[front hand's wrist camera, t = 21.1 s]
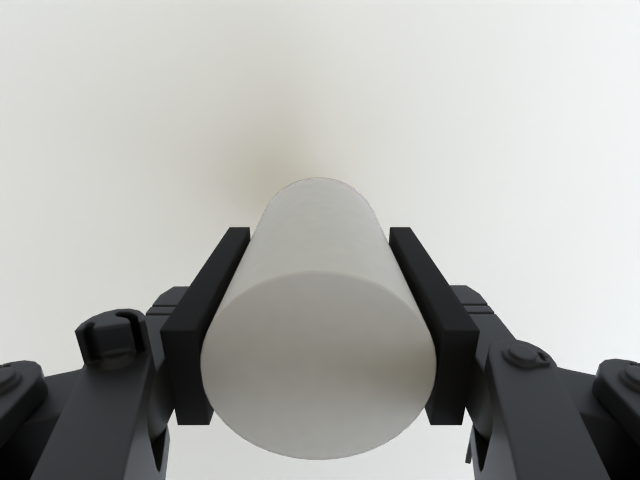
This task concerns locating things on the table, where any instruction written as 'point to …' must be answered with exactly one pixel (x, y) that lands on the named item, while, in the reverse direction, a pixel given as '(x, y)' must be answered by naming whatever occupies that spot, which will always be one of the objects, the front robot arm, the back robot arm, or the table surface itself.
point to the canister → (318, 331)
